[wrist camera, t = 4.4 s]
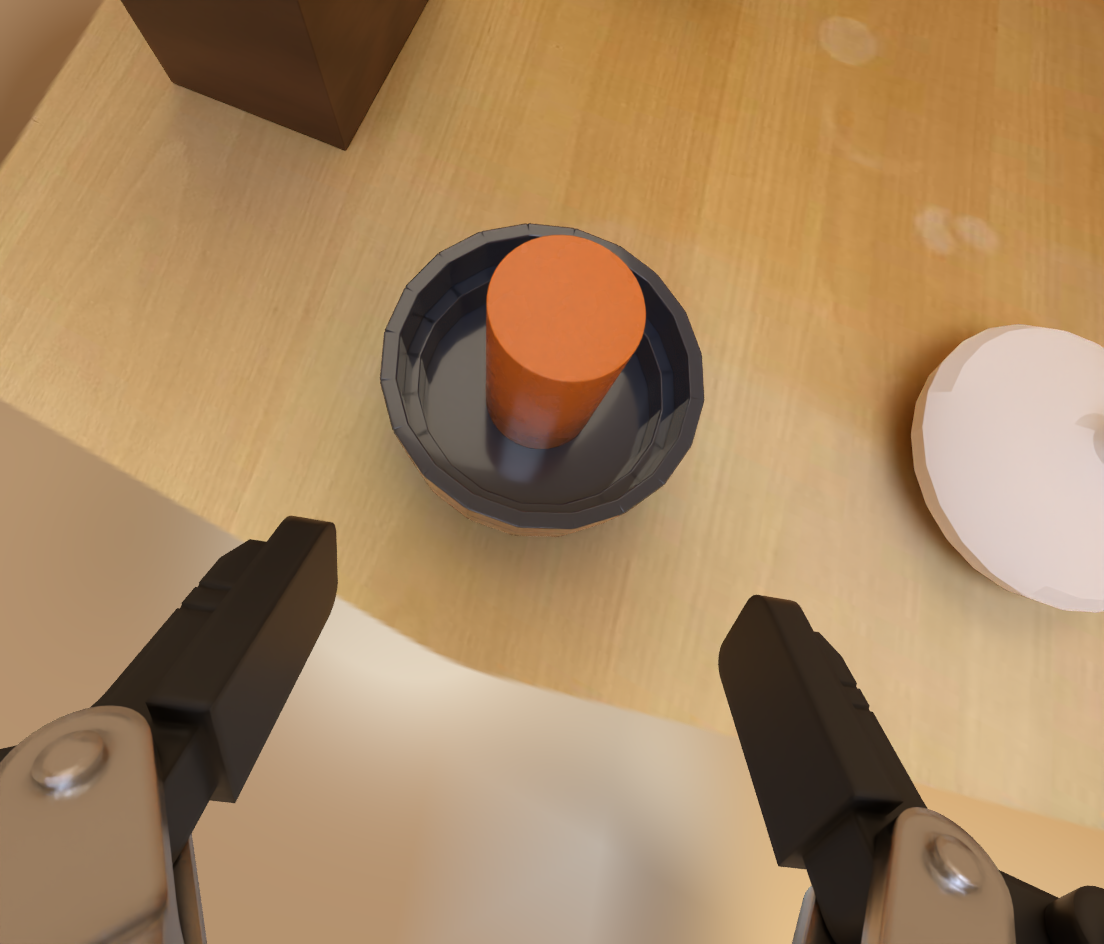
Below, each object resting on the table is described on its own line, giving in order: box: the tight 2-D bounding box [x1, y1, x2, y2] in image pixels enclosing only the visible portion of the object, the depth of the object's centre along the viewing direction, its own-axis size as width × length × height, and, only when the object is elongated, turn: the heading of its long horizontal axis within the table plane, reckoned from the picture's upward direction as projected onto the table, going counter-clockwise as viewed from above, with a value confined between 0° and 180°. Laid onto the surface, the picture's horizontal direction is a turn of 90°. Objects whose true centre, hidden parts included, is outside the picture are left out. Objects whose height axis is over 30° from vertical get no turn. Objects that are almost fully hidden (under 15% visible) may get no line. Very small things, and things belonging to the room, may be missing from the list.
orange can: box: [485, 235, 646, 449], centre depth 22 cm, size 6×6×9 cm
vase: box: [911, 324, 1104, 612], centre depth 26 cm, size 16×16×7 cm
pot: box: [380, 223, 704, 537], centre depth 24 cm, size 14×14×4 cm
